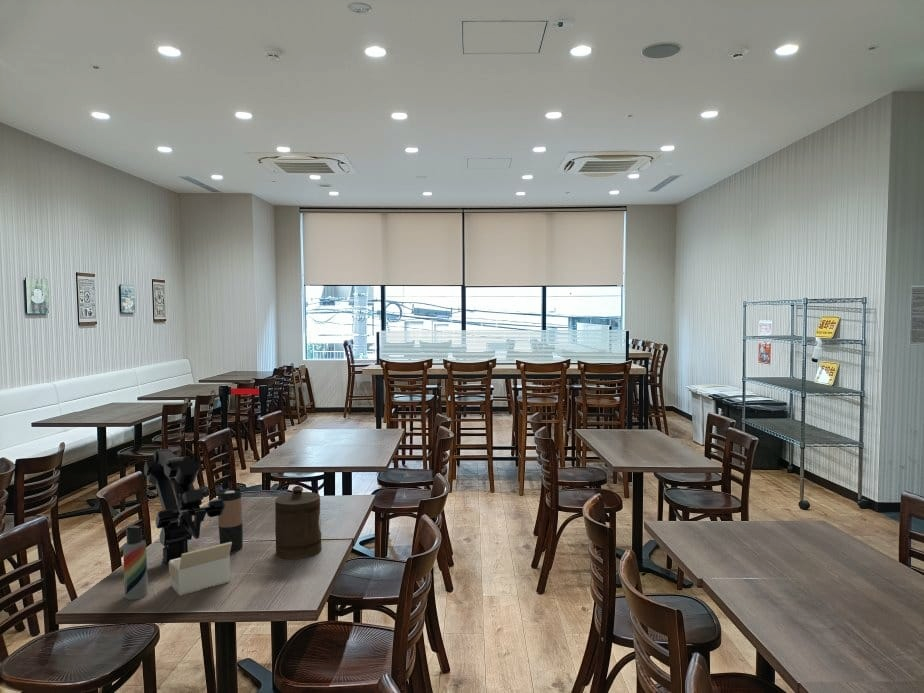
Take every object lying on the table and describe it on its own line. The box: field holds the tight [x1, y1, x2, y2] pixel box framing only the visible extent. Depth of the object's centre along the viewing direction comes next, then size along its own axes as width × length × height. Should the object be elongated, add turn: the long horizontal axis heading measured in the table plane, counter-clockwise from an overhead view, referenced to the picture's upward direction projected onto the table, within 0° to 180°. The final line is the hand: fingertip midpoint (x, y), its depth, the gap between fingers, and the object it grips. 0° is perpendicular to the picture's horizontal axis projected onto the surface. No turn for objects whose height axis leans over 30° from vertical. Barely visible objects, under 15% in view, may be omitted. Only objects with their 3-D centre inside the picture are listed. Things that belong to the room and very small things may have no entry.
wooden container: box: [274, 485, 323, 560], centre depth 202 cm, size 15×15×22 cm
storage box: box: [168, 554, 231, 597], centre depth 178 cm, size 10×15×8 cm, turn 130°
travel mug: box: [217, 487, 244, 553], centre depth 206 cm, size 8×8×20 cm
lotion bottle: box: [122, 525, 149, 601], centre depth 171 cm, size 6×6×20 cm
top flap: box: [179, 542, 232, 570], centre depth 173 cm, size 6×14×1 cm
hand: (197, 538), depth 179 cm, fingers closed
